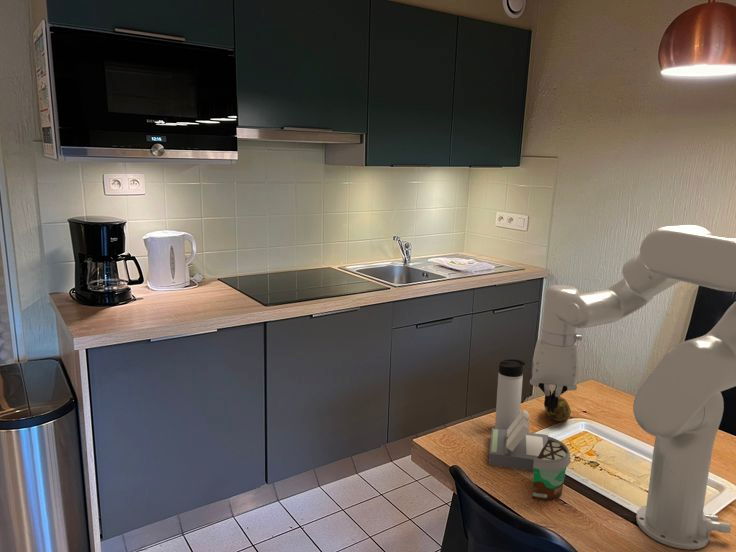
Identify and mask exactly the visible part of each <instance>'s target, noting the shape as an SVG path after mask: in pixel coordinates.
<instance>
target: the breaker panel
mask: <svg viewBox="0 0 736 552" xmlns="http://www.w3.org/2000/svg"><path fill="white" fill-rule="evenodd" d="M506 433H507V430H505V429H497V428H495V427H491V433H490V435H491V436H490V444H489V457H488V466H494V467H500V468H507V469H514V470H521V471H528V472H534V468H533V464H534V458H537V457H538V456H539V454H540V452H541V450H542V448H543V447H544V446H545V445H546V443H547V441H548V436H549V434H543V433H535V432H529V431H528V432H527V434H526V435H525V436H524V437H523V439H522V440H521V441H520V442H519V444H518V445H517V446H516V447H515V449H514V450H513V451H511V450H509V454H508V455H506V454H505V444H506V442H505V441H506Z"/></svg>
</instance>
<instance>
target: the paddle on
mask: <svg viewBox="0 0 736 552" xmlns="http://www.w3.org/2000/svg"><path fill="white" fill-rule="evenodd" d="M523 419H525V420H526V421H528V422H529V420H530V412H528V411H527V410H525V408H524V409H521V410H520V414H519V415H518V416H517V418H516V419H515V420H514V422H513V423H512V424H511V426H510V427H509V428H508V429H507V433H506V441H505V442H506V443H507V439H508V438H509V437H510V435H511V434H512V433H513V431H514V430H515V429H516V428H517V426H518V425H519V424H520V422H521V421H522V420H523Z"/></svg>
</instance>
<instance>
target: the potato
mask: <svg viewBox="0 0 736 552" xmlns="http://www.w3.org/2000/svg"><path fill="white" fill-rule="evenodd" d="M543 406H544V405H543ZM544 409H545V412H546V414H547V415H548V418H549V419H550V420H554V421H556V422H565V421H567V420H568V419H569V417H570V416H571V415H572V414H571V413H572V410H571V407H570V404H569V403H568V401H567V400H566V399H565V398H563V397H561V396H560V397H559V398H558V407H557V408H555V410H554V412H551V411H550V412H547V407H545V406H544Z"/></svg>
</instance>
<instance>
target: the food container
mask: <svg viewBox="0 0 736 552" xmlns="http://www.w3.org/2000/svg"><path fill="white" fill-rule="evenodd" d="M570 453H571V452H570V450H569V447H568V446H567V445H566V444H565V443H564V442H563V441H561V440H559V439H556V438H554V437H551V436H549V435H548V441H547V443H546V445H545V446H544V447H543V448H542V450H541V452H540V454H539V456H538V457H537V458H534V464H533V468H534V471H533V474H532V475H533V477H532V496H531V499H533V500H535V501H542V502H551V501H556V500H558V499H559V498H561V496H562V494H563V488H564V483H565V477H566V472H567V467H568V466H569V465H570V464H571V454H570Z"/></svg>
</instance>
